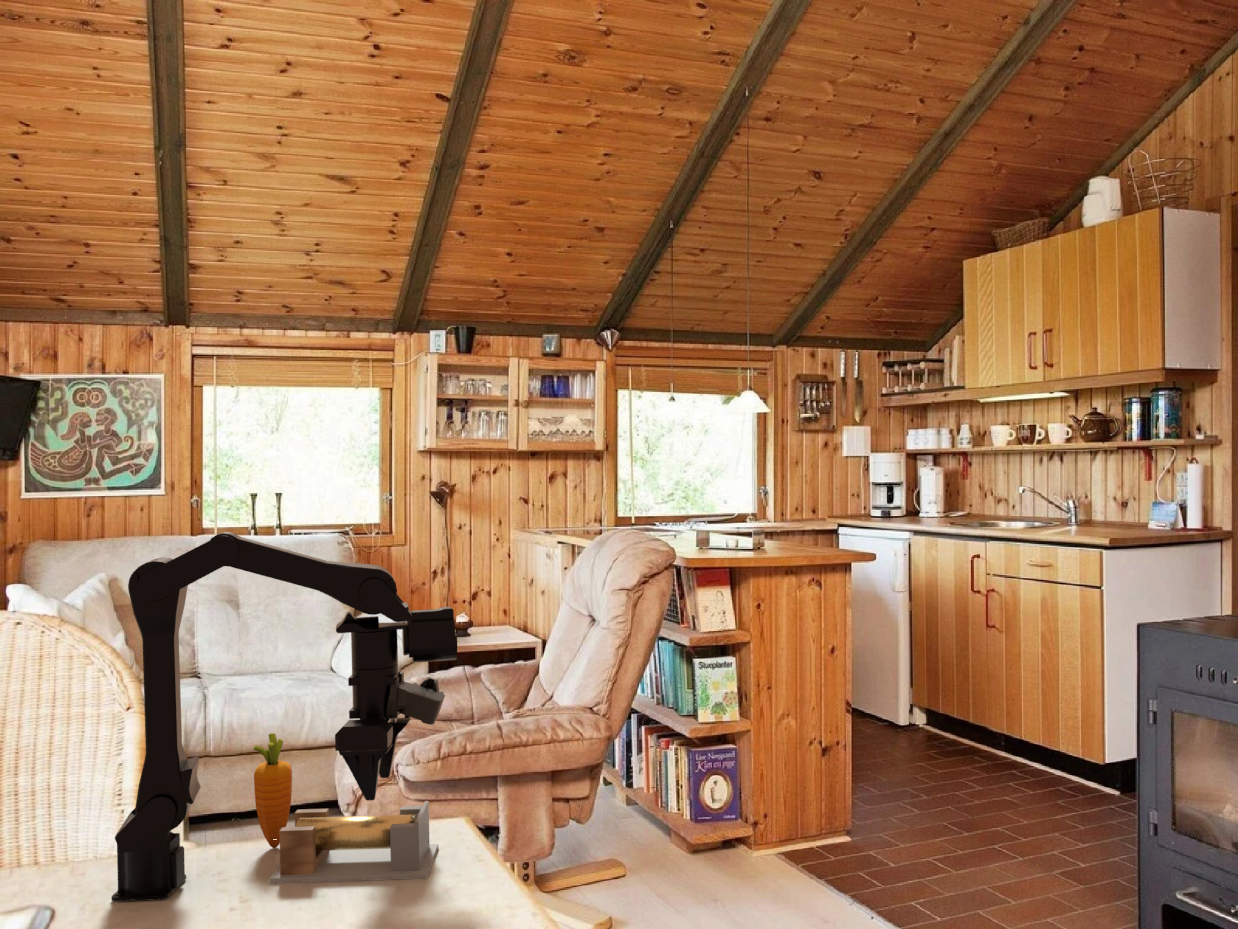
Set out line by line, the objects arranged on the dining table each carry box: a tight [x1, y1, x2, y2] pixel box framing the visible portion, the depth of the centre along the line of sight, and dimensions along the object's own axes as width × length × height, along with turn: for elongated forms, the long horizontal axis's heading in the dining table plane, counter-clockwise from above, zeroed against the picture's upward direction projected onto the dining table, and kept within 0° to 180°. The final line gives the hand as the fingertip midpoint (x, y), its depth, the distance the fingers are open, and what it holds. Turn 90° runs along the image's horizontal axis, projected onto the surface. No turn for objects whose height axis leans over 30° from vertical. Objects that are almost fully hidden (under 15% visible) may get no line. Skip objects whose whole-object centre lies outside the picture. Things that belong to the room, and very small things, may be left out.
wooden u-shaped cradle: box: [279, 808, 330, 875], centre depth 132 cm, size 4×8×5 cm, turn 2°
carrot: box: [253, 732, 293, 849], centre depth 139 cm, size 5×5×15 cm
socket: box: [390, 800, 430, 871], centre depth 132 cm, size 4×8×6 cm, turn 1°
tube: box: [296, 814, 418, 851], centre depth 132 cm, size 15×4×4 cm, turn 92°
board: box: [269, 843, 439, 884], centre depth 132 cm, size 19×10×1 cm, turn 92°
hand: (378, 788), depth 132 cm, fingers open, 9 cm apart
